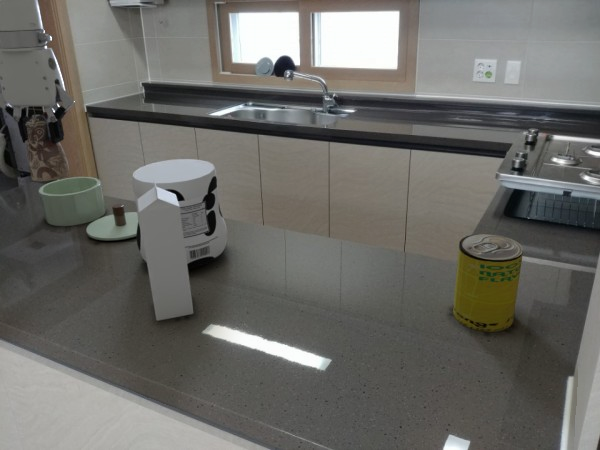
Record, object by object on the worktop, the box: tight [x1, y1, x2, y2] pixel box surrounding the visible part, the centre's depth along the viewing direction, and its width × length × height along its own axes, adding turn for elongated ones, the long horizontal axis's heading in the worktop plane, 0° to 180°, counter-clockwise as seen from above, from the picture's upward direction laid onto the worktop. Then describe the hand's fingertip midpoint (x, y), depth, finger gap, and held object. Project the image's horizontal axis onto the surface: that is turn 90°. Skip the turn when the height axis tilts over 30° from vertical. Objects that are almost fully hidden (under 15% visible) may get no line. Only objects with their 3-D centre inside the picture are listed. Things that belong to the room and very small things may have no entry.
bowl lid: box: [85, 203, 138, 241], centre depth 120 cm, size 15×15×6 cm
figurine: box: [24, 111, 70, 182], centre depth 103 cm, size 7×7×12 cm
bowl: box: [38, 176, 106, 227], centre depth 129 cm, size 14×14×8 cm
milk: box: [137, 179, 194, 322], centre depth 85 cm, size 6×6×22 cm
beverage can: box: [452, 233, 524, 333], centre depth 82 cm, size 9×9×12 cm
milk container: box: [131, 158, 228, 269], centre depth 103 cm, size 17×17×18 cm
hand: (43, 140), depth 102 cm, fingers closed on figurine, 5 cm apart
